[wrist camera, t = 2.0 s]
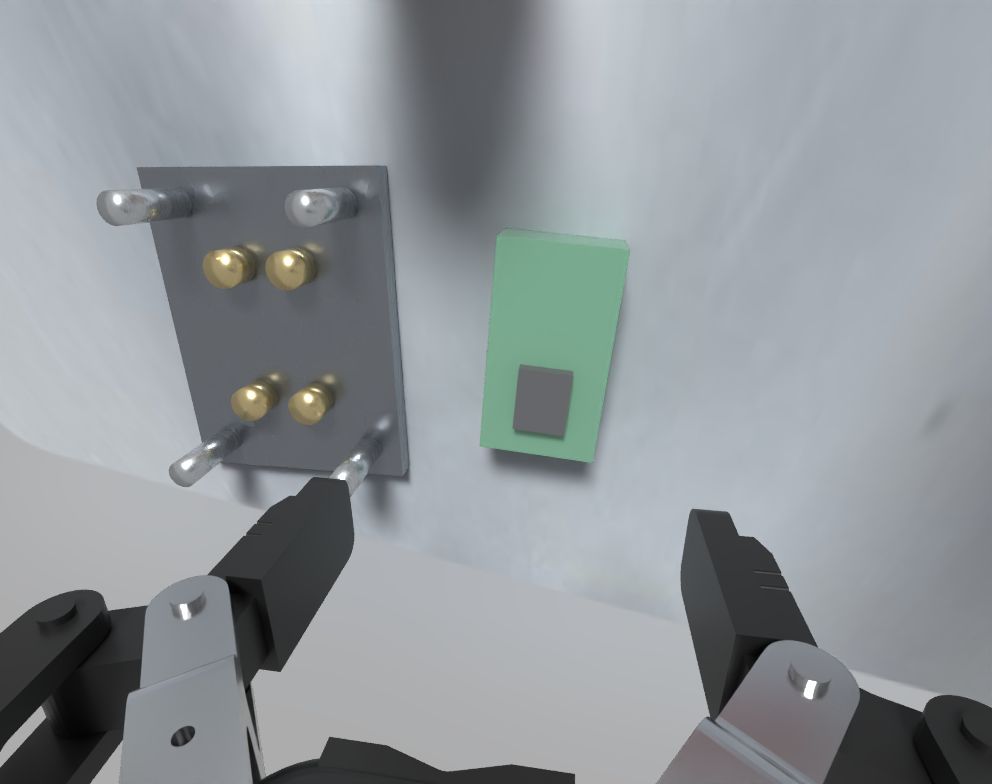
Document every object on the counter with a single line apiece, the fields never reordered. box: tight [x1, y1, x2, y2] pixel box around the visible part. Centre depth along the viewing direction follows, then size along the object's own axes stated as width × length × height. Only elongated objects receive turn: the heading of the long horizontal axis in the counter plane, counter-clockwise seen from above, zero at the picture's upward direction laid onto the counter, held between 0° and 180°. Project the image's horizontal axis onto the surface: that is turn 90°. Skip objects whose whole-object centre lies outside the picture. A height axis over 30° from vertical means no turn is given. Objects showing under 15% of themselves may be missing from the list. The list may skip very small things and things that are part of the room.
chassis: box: [97, 166, 409, 497], centre depth 27 cm, size 16×12×5 cm
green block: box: [480, 228, 630, 463], centre depth 25 cm, size 10×6×4 cm, turn 175°
